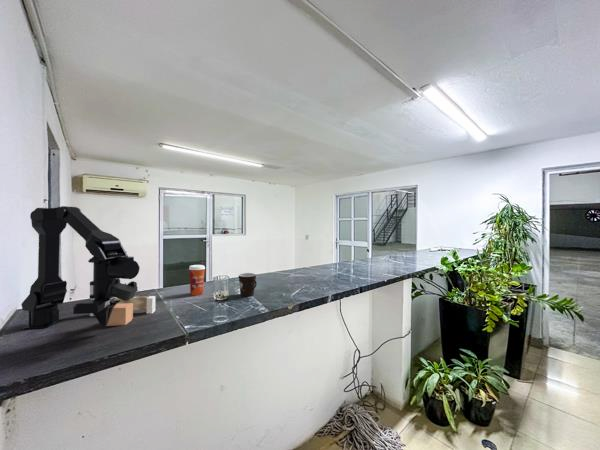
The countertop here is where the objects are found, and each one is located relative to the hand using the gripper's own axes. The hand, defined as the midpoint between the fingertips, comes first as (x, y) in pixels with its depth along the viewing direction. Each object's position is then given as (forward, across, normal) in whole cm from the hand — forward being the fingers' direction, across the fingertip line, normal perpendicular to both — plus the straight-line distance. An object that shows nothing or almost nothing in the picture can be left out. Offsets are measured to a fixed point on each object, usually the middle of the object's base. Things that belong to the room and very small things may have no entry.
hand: (104, 325), depth 77 cm
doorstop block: (+3, +9, 0) cm, 9 cm away
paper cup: (+3, +42, -18) cm, 46 cm away
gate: (+1, +18, +3) cm, 18 cm away
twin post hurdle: (+2, +18, +4) cm, 18 cm away
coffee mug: (+3, +36, -43) cm, 56 cm away
